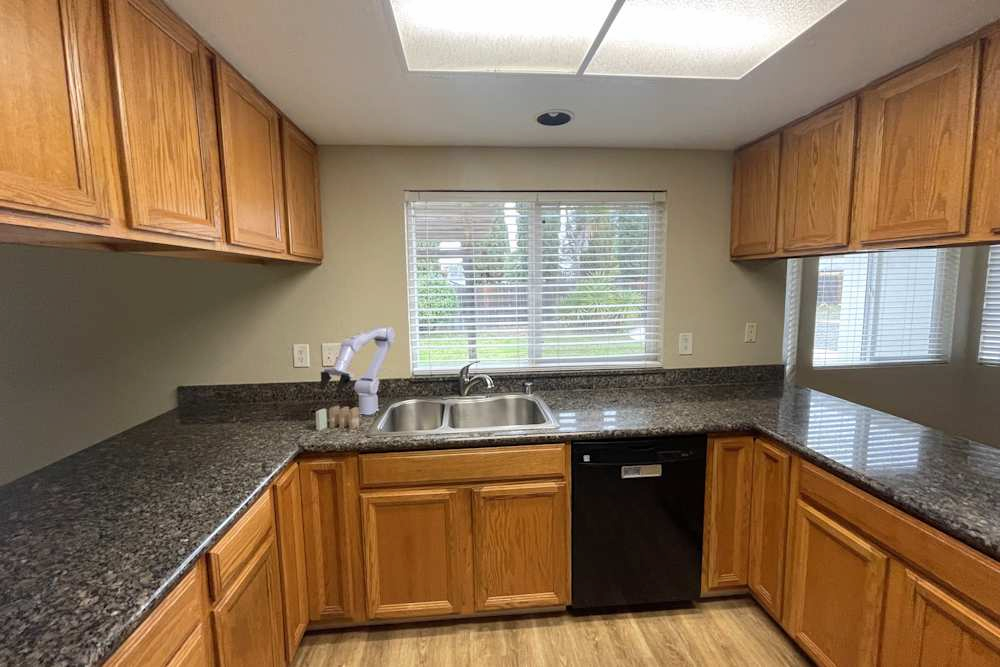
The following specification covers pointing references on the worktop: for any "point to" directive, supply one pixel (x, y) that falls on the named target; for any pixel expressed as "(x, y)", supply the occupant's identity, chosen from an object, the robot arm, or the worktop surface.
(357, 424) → the domino
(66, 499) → the worktop surface
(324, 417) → the domino
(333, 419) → the domino
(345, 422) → the domino
